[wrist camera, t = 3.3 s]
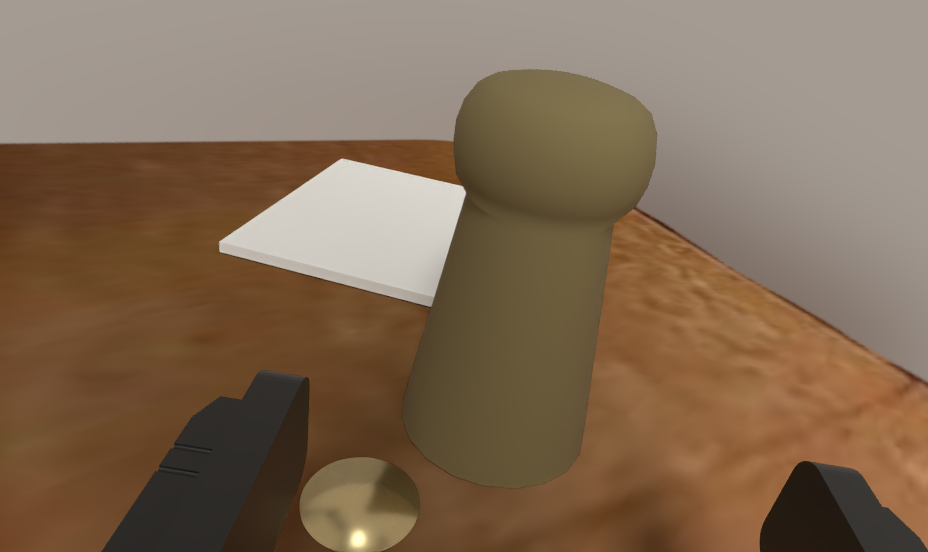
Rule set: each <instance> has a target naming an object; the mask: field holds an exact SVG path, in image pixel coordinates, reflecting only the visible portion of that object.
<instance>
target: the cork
mask: <svg viewBox="0 0 928 552" xmlns="http://www.w3.org/2000/svg"><path fill="white" fill-rule="evenodd" d="M656 143H657V132H656V129H655V125H654V121H653V118H652V114H651V113H650V112H649V111H648V110H647V109H646V107H645V106H644V105H643V104H642V103H641V102H640V101H639V100H637V99H636V98H635V97H634V96H632V95H630V94H628V93H626V92H624V91H622V90H619V89H617V88H615V87H613V86H610V85H608V84H606V83H603V82H600V81H598V80H595V79H591V78H588V77H584V76H581V75H577V74H572V73H567V72H561V71H551V70H510V71H502V72H497V73H495V74H493V75H490V76H488V77H486V78H484V79H482V80H481V81H479V82H478V83H477V84H476V85H475V87H474V88H473V89H472V90H471V91H470V93H469V94H468V95H467V96H466V97H465V99H464V101H463V104H462V106H461V109H460V111H459V114H458V116H457V119H456V126H455V134H454V158H455V167H456V174H457V176H458V178H459V180H460V182H461V184H462V186H463V188H464V190H465V192H466V195H465V198H464V201H463V205H462V208H461V211H460V214H459V218H458V221H457V224H456V228H455V231H454V234H453V237H452V241H451V244H450V247H449V250H448V254H447V257H446V260H445V264H444V267H443V270H442V273H441V277H440V280H439V283H438V287H437V290H436V293H435V296H434V300H433V303H432V306H431V310H430V313H429V316H428V319H427V323H426V326H425V329H424V332H423V336H422V339H421V342H420V346H419V349H418V352H417V355H416V359H415V362H414V365H413V369H412V372H411V375H410V378H409V382H408V385H407V388H406V392H405V395H404V398H403V409H402V420H403V423H404V425H405V428H406V431H407V434H408V437H409V439H410V440H411V441H412V442H413V444H414V445H415V446H416V447H417V448H418V449H419V451H420V452H421V453H422V454H423V455H424V456H425V458H426V459H428V460H429V461H431V462H432V463H434V464H435V465H437V466H438V467H440V468H442V469H443V470H445V471H446V472H448V473H449V474H451V475H453V476H456V477H458V478H461V479H464V480H467V481H470V482H473V483H476V484H479V485H482V486H490V487H502V488H513V489H516V488H522V487H528V486H533V485H539V484H544V483H546V482H548V481H550V480H552V479H553V478H555V477H557V476H559V475H561V474H563V473H565V472H566V471H567V470H568V469H569V467H570V466H571V465H572V463H573V462H574V461H575V460H576V458H577V457H578V456H579V454H580V449H581V443H582V438H583V432H584V425H585V418H586V411H587V405H588V398H589V391H590V384H591V377H592V370H593V363H594V356H595V350H596V343H597V336H598V329H599V322H600V315H601V308H602V301H603V294H604V288H605V281H606V274H607V267H608V260H609V253H610V246H611V239H612V233H613V226H614V223H616V222H617V221H618V220H620V219H621V218H622V217H623V216H625V215H626V214H627V213H629V212H630V211H631V210H632V209H634V208H635V207H636V205H637V204H638V202H639V200H640V199H641V197H642V196H643V194H644V192H645V190H646V189H647V187H648V185H649V181H650V179H651V176H652V172H653V169H654V166H655V159H656Z"/></svg>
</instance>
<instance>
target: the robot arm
mask: <svg viewBox="0 0 928 552" xmlns="http://www.w3.org/2000/svg"><path fill="white" fill-rule="evenodd" d="M308 413H309V379H308V378H307V377H303V376H297V375H291V374H285V373H279V372H273V371H267V370H261V371H259V373H258V374H257V375H256V377H255V378H254V380H253V382H252V383H251V385H250V387H249V389H248V390H247V392H246V394H245V395H244V397H243V399H242V400H239V399H233V398H227V397H221V396H220V397H219V398H218V399H216V400H215V401H213V402H212V403H211V404H209V405H208V406H206V407H205V408H204V409H202V410H201V411H199V412H198V413H197V414H195V415H194V416H193V417H192V418H191V419H190V421H189V422H188V424H187V425H186V427H185V428H184V430H183V431H182V433H181V434H180V436H179V437H178V439H177V440H176V442H175V443H174V447H173V449H170V450H169V452H168V453H167V455H166V456H165V458H164V459H163V461H162V462H161V464H160V466H159V470H158V471H155V473H154V474H153V476H152V477H151V479H150V480H149V482H148V483H147V485H146V486H145V488H144V489H143V491H142V492H141V494H140V495H139V497H138V498H137V500H136V501H135V503H134V504H133V506H132V507H131V509H130V510H129V512H128V513H127V514H126V516H125V517H124V519H123V520H122V522H121V523H120V525H119V526H118V528H117V529H116V531H115V532H114V534H113V535H112V537H111V538H110V540H109V541H108V543H107V544H106V546H105V547H104V549H103V550H102V552H273V549H274V547H275V544H276V542H277V539H278V537H279V534H280V532H281V529H282V526H283V524H284V521H285V519H286V516H287V514H288V511H289V509H290V506H291V504H292V501H293V499H294V496H295V493H296V491H297V488H298V486H299V483H300V480H301V477H302V473H303V469H304V465H305V460H306V453H307V441H308ZM760 552H928V550H927V548H926V547H925V545H924V544H923V542H922V541H921V539H920V538H919V537H918V536H917V535H916V534H915V533H914V532H913V531H912V530H911V529H910V528H909V527H907V526H906V525H905V524H904V523H903V522H902V521H901V520H900V519H899V518H898V517H897V516H896V515H895V514H894V513H893V512H892V511H891V510H890V509H889V508H886V507H882V506H881V504H880V503H879V501H878V499H877V498H876V496H875V495H874V493H873V492H872V490H871V489H870V487H869V485H868V484H867V482H866V481H865V479H864V478H863V476H862V475H861V474H860V473H859V472H858V471H856V470H854V469H851V468H846V467H840V466H834V465H827V464H821V463H815V462H809V461H803V462H800V463H799V464H798V465H797V466H796V467H795V468H794V470H793V471H792V473H791V475H790V477H789V478H788V480H787V482H786V484H785V485H784V487H783V489H782V491H781V493H780V494H779V496H778V498H777V500H776V501H775V503H774V505H773V507H772V508H771V510H770V512H769V514H768V516H767V517H766V519H765V521H764V523H763V526H762V529H761V533H760Z"/></svg>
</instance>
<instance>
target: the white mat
mask: <svg viewBox="0 0 928 552" xmlns="http://www.w3.org/2000/svg"><path fill="white" fill-rule="evenodd" d="M465 195H466V192H465V190H464V188H463V186H459V185H454V184H450V183H446V182H441V181H437V180H433V179H428V178H424V177H420V176H415V175H411V174H407V173H402V172H398V171H394V170H389V169H385V168H381V167H376V166H372V165H368V164H363V163H359V162H355V161H350V160H346V159H340V160H339V161H337V162H336V163H334V164H333V165H331V166H330V167H329V168H327V169H326V170H324V171H323V172H321V173H320V174H318V175H317V176H315V177H314V178H312V179H311V180H309V181H308V182H306V183H305V184H303V185H302V186H301V187H299V188H298V189H296V190H295V191H293V192H292V193H290V194H289V195H287V196H286V197H284V198H283V199H281V200H280V201H278V202H277V203H275V204H274V205H273V206H271V207H270V208H268V209H267V210H265V211H264V212H262V213H261V214H259V215H258V216H256V217H255V218H253V219H252V220H250V221H249V222H248V223H246V224H245V225H243V226H242V227H240V228H239V229H237V230H236V231H234V232H233V233H231V234H230V235H228V236H227V237H225V238H224V239H222V240H221V241H220V242H219V248H220V252H222V253H226V254H230V255H233V256H237V257H241V258H245V259H249V260H253V261H256V262H260V263H264V264H268V265H272V266H276V267H279V268H283V269H287V270H291V271H295V272H299V273H302V274H306V275H310V276H314V277H318V278H322V279H325V280H329V281H333V282H337V283H341V284H344V285H348V286H352V287H356V288H360V289H364V290H367V291H371V292H375V293H379V294H383V295H387V296H390V297H394V298H398V299H402V300H406V301H410V302H413V303H417V304H421V305H425V306H429V307H431V306H432V303H433V300H434V296H435V293H436V290H437V287H438V283H439V280H440V277H441V273H442V270H443V267H444V264H445V260H446V257H447V254H448V250H449V247H450V244H451V241H452V237H453V234H454V231H455V228H456V224H457V221H458V218H459V214H460V211H461V208H462V205H463V201H464V198H465Z"/></svg>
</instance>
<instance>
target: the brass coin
mask: <svg viewBox="0 0 928 552" xmlns="http://www.w3.org/2000/svg"><path fill="white" fill-rule="evenodd" d="M419 507H420V500H419V494H418V491H417V488H416V486H415V484H414V483H413V481H412V480H411V478H410V477H409V476H408V475H407V474H406V473H405V472H403V471H402V470H401V469H400V468H398V467H396V466H395V465H393V464H391V463H389V462H386V461H383V460H379V459H375V458H369V457H354V458H347V459H343V460H339V461H336V462H333V463H331V464H329V465H327V466H325V467H324V468H322V469H320V470H319V471H318V472H317V473H315V474H314V475H313V476H312V477H311V478H310V480H309V481H308V482H307V484H306V485H305V487H304V489H303V491H302V494H301V498H300V506H299V510H300V516H301V520H302V523H303V525H304V527H305V528H306V530H307V531H308V533H309V534H310V535H311V536H312V537H313V538H314V539H315V540H316V541H318V542H319V543H320V544H322V545H323V546H325V547H327V548H329V549H332V550H334V551H337V552H379V551H383V550H385V549H388V548H390V547H392V546H394V545H395V544H397V543H398V542H400V541H401V540H402V539H403V538H405V537H406V536H407V534H408V533H409V532H410V531H411V529H412V528H413V526H414V525H415V523H416V520H417V517H418V514H419Z"/></svg>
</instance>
